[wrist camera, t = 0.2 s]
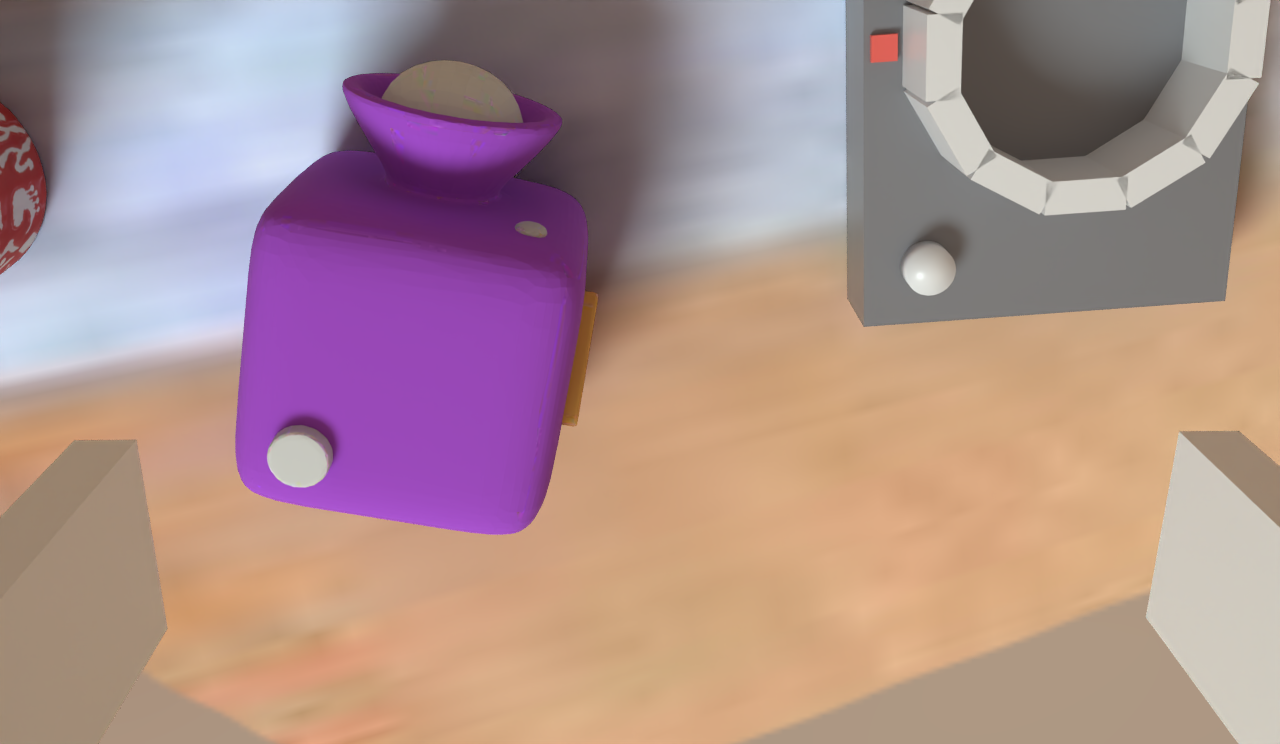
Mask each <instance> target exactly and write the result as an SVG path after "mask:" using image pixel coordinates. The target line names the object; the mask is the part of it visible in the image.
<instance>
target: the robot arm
mask: <svg viewBox="0 0 1280 744" xmlns="http://www.w3.org/2000/svg"><path fill="white" fill-rule="evenodd" d="M1146 618H1147V619H1148V621H1149V622H1150V624H1151V625H1152V626H1153V628H1154V629H1155V630H1156V632H1157V633H1158V635H1159V636H1160V637H1161V639H1162V640H1163V641H1164V643H1165V644H1166V645H1167V647H1168V648H1169V650H1170V651H1171V652H1172V654H1173V655H1174V656H1175V658H1176V659H1177V660H1178V662H1179V663H1180V664H1181V666H1182V667H1183V669H1184V670H1185V671H1186V673H1187V674H1188V675H1189V677H1190V678H1191V679H1192V681H1193V682H1194V684H1195V685H1196V686H1197V688H1198V689H1199V690H1200V692H1201V693H1202V695H1203V696H1204V697H1205V699H1206V700H1207V701H1208V703H1209V704H1210V705H1211V707H1212V708H1213V709H1214V711H1215V712H1216V714H1217V715H1218V716H1219V718H1220V719H1221V720H1222V722H1223V723H1224V724H1225V726H1226V727H1227V729H1228V730H1229V731H1230V733H1231V734H1232V735H1233V737H1234V738H1235V740H1236V741H1237V742H1238V744H1280V466H1279V465H1278V464H1276V463H1275V462H1274V461H1273V460H1272V459H1271V458H1269V457H1268V456H1267V455H1266V454H1265V453H1264V452H1263V451H1261V450H1260V449H1259V448H1258V447H1257V446H1256V445H1254V444H1253V443H1252V442H1251V441H1250V440H1249V439H1248V438H1246V437H1245V436H1244V435H1243V434H1242V433H1241V432H1239V431H1179V435H1178V441H1177V446H1176V452H1175V458H1174V463H1173V469H1172V474H1171V480H1170V485H1169V491H1168V497H1167V502H1166V508H1165V513H1164V519H1163V524H1162V530H1161V536H1160V541H1159V547H1158V552H1157V558H1156V564H1155V569H1154V575H1153V580H1152V586H1151V591H1150V597H1149V603H1148V608H1147V614H1146ZM166 630H167V622H166V616H165V610H164V604H163V598H162V592H161V586H160V580H159V574H158V568H157V561H156V555H155V549H154V543H153V537H152V531H151V525H150V519H149V513H148V507H147V500H146V494H145V488H144V482H143V476H142V470H141V464H140V458H139V452H138V446H137V440H74V441H73V442H72V443H71V444H70V445H69V446H68V448H67V449H66V450H65V451H64V452H63V453H62V454H61V455H60V456H59V457H58V458H57V459H56V460H55V461H54V462H53V463H52V464H51V465H50V466H49V467H48V468H47V469H46V470H45V471H44V472H43V473H42V474H41V475H40V477H39V478H38V479H37V480H36V481H35V482H34V483H33V484H32V485H31V486H30V487H29V488H28V489H27V490H26V491H25V492H24V493H23V494H22V495H21V496H20V497H19V498H18V499H17V500H16V501H15V502H14V503H13V504H12V505H11V507H10V508H9V509H8V510H7V511H6V512H5V513H4V514H3V515H2V516H1V517H0V744H99V743H100V741H101V739H102V738H103V736H104V734H105V732H106V731H107V729H108V728H109V726H110V724H111V722H112V721H113V719H114V717H115V716H116V714H117V712H118V711H119V709H120V707H121V706H122V704H123V702H124V701H125V699H126V697H127V695H128V694H129V692H130V691H131V689H132V687H133V685H134V684H135V682H136V681H137V679H138V677H139V675H140V674H141V672H142V670H143V669H144V667H145V665H146V664H147V662H148V660H149V659H150V657H151V655H152V654H153V652H154V650H155V649H156V647H157V645H158V644H159V642H160V640H161V639H162V637H163V635H164V634H165V632H166Z"/></svg>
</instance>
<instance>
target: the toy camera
mask: <svg viewBox="0 0 1280 744" xmlns="http://www.w3.org/2000/svg"><path fill="white" fill-rule="evenodd" d="M342 87H343V92H344V94H345V97H346V99H347V102H348V104H349V107H350V109H351V111H352V112H353V114H354V116H355V118H356V120H357V122H358V124H359V126H360V127H361V129H362V131H363V132H364V134H365V136H366V138H367V139H368V141H369V143H370V144H371V146H372V148H373V149H374V151H375V153H373V152H365V151H338V152H333V153H330V154H328V155H325V156H323V157H322V158H320V159H319V160H317V161H316V162H314V163H313V164H312V165H311V166H309V167H308V168H307V169H306V170H305V171H303V172H302V173H301V174H300V175H299V176H297V177H296V178H295V179H294V180H293V181H292V182H291V183H290V184H289V185H288V186H287V187H286V188H285V189H284V190H283V191H282V192H281V193H280V194H279V195H278V196H277V197H276V198H275V199H274V200H273V202H272V203H271V204H270V205H269V206H268V208H267V209H266V210H265V212H264V213H263V215H262V216H261V219H260V221H259V223H258V225H257V228H256V231H255V235H254V239H253V244H252V249H251V257H250V265H249V273H248V285H247V297H246V308H245V320H244V332H243V344H242V356H241V367H240V379H239V391H238V406H237V421H236V460H237V467H238V472H239V474H240V477H241V479H242V481H243V483H244V484H245V486H246V487H248V488H249V489H250V490H251V491H253V492H254V493H257V494H259V495H261V496H264V497H267V498H270V499H273V500H276V501H281V502H286V503H291V504H296V505H300V506H305V507H311V508H317V509H324V510H330V511H336V512H342V513H349V514H355V515H361V516H368V517H374V518H380V519H386V520H393V521H399V522H405V523H412V524H418V525H424V526H431V527H437V528H443V529H450V530H457V531H464V532H471V533H481V534H512V533H516V532H519V531H521V530H523V529H524V528H526V527H527V526H528V525H529V524H530V523H531V522H532V521H533V520H534V518H535V517H536V515H537V513H538V511H539V509H540V508H541V506H542V504H543V501H544V498H545V496H546V493H547V489H548V486H549V482H550V479H551V474H552V469H553V464H554V460H555V455H556V450H557V445H558V440H559V435H560V430H561V424H562V425H568V426H576V425H577V421H578V416H579V410H580V404H581V398H582V392H583V386H584V380H585V374H586V368H587V362H588V356H589V350H590V344H591V338H592V332H593V326H594V320H595V314H596V308H597V302H598V294H597V293H594V292H589V291H585V285H586V269H587V254H588V229H587V221H586V216H585V213H584V211H583V209H582V207H581V205H580V204H579V202H578V201H577V200H576V199H575V198H573V197H572V196H571V195H569V194H567V193H566V192H563V191H561V190H559V189H556V188H553V187H550V186H547V185H543V184H539V183H534V182H530V181H525V180H521V179H516V178H513V177H514V176H515V175H516V174H517V173H518V172H519V171H520V170H521V169H522V168H523V167H524V166H526V165H527V164H528V163H529V162H530V161H531V160H532V159H533V158H534V157H535V156H536V155H537V154H538V153H539V152H540V151H541V150H542V149H543V148H544V147H545V146H546V145H547V144H548V143H549V142H550V141H551V139H552V138H553V137H554V136H555V134H556V133H557V132H558V131H559V129H560V127H561V125H562V119H561V117H560V116H559V115H558V114H557V113H556V112H555V111H553V110H552V109H550V108H548V107H546V106H544V105H542V104H540V103H537V102H535V101H533V100H530V99H527V98H525V97H522V96H519V95H516V94H512V93H511V91H510V90H509V89H508V88H507V87H506V86H505V85H504V84H503V82H502V81H500V80H499V79H498V78H496V77H495V76H494V75H492V74H491V73H490V72H487V71H485V70H483V69H481V68H479V67H477V66H475V65H471V64H468V63H464V62H459V61H450V60H441V61H430V62H426V63H423V64H419V65H416V66H413V67H411V68H410V69H408V70H406V71H404V72H402V73H401V74H389V73H373V74H360V75H355V76H352V77H349V78H347V79H345V80H344V81H343V86H342Z"/></svg>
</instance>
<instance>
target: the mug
mask: <svg viewBox="0 0 1280 744" xmlns="http://www.w3.org/2000/svg"><path fill="white" fill-rule="evenodd" d="M46 195H47V192H46V182H45V177H44V172H43V168H42V165H41V162H40V159H39V156H38V153H37V151H36V148H35V146H34V144H33V142H32V140H31V139H30V137H29V135H28V134H27V132H26V131H25V129H24V128H23V126H22V125H21V124H20V122H19V121H18V120H17V118H16V117H15V116H14V115H13V114H12V112H11V111H10V110H9V109H7V108H6V107H5V106H4V105H3V104H2V103H1V102H0V274H2V273H3V272H4V271H6V270H7V269H8V268H9V267H11V266H12V265H13V264H14V263H15V262H17V261H18V260H19V259H20V258H21V257H22V256H23V255H24V254H25V253H26V251H27V250H28V249H29V248H30V246H31V244H32V243H33V241H34V240H35V238H36V236H37V234H38V231H39V229H40V227H41V224H42V221H43V217H44V213H45V206H46Z"/></svg>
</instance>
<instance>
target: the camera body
mask: <svg viewBox="0 0 1280 744" xmlns="http://www.w3.org/2000/svg"><path fill="white" fill-rule="evenodd" d="M1269 9H1270V0H846V136H847V299H848V300H849V302H850V304H851V306H852V307H853V309H854V311H855V312H856V314H857V316H858V318H859V319H860V321H861V323H862V325H863V326H864V327H867V326H881V325H895V324H909V323H923V322H937V321H951V320H964V319H978V318H992V317H1006V316H1020V315H1034V314H1048V313H1062V312H1076V311H1090V310H1104V309H1118V308H1132V307H1145V306H1159V305H1173V304H1187V303H1201V302H1215V301H1225V296H1226V288H1227V279H1228V270H1229V261H1230V252H1231V244H1232V235H1233V226H1234V217H1235V208H1236V200H1237V191H1238V182H1239V173H1240V164H1241V156H1242V147H1243V138H1244V129H1245V120H1246V112H1247V103H1248V100H1249V98H1250V97H1251V95H1252V94H1253V92H1254V91H1255V89H1256V88H1257V86H1258V85H1259V83H1258V82H1256V81H1254V80H1252V79H1251V78H1261V77H1262V69H1263V60H1264V52H1265V43H1266V34H1267V26H1268V17H1269Z"/></svg>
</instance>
